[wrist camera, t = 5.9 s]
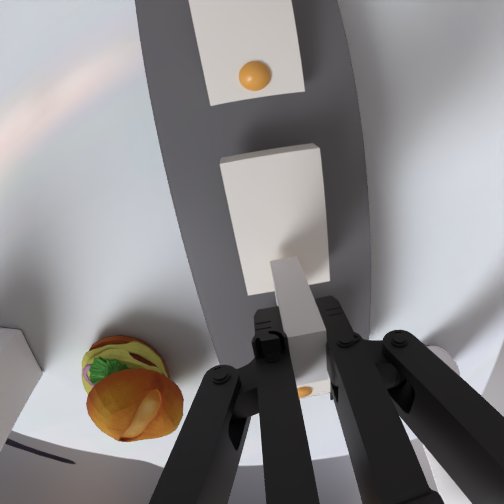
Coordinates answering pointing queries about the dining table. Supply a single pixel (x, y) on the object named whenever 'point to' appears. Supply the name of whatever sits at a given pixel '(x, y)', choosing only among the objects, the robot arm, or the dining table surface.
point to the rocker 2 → (278, 212)
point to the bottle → (446, 486)
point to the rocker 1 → (247, 48)
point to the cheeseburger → (130, 390)
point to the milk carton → (15, 378)
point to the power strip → (251, 140)
